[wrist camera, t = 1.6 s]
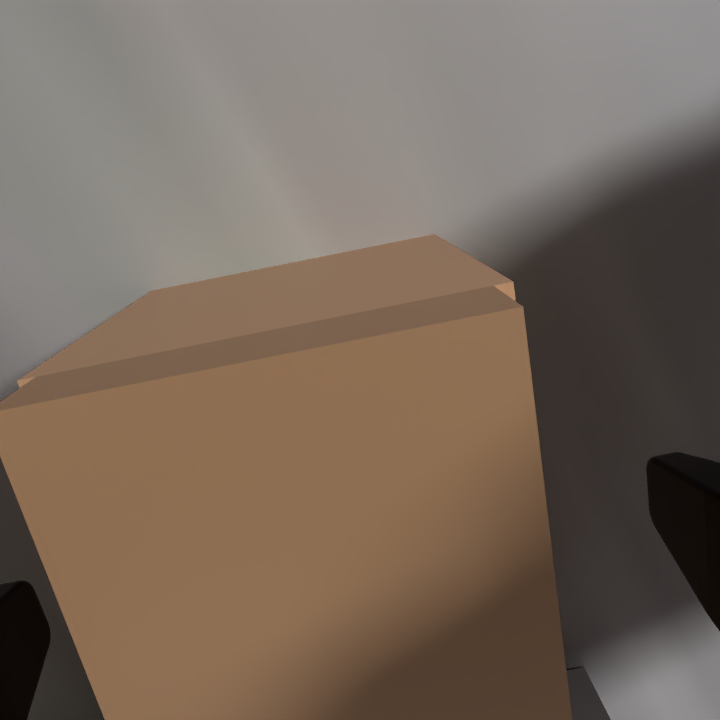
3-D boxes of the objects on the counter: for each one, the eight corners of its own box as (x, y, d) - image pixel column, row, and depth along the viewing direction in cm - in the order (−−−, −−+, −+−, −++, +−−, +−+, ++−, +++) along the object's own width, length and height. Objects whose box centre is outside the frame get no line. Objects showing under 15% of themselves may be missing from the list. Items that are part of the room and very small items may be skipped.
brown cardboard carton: (433, 233, 11) (546, 302, 5) (492, 611, 13) (616, 947, 8) (153, 289, 11) (-42, 418, 5) (260, 656, 13) (207, 1021, 8)
